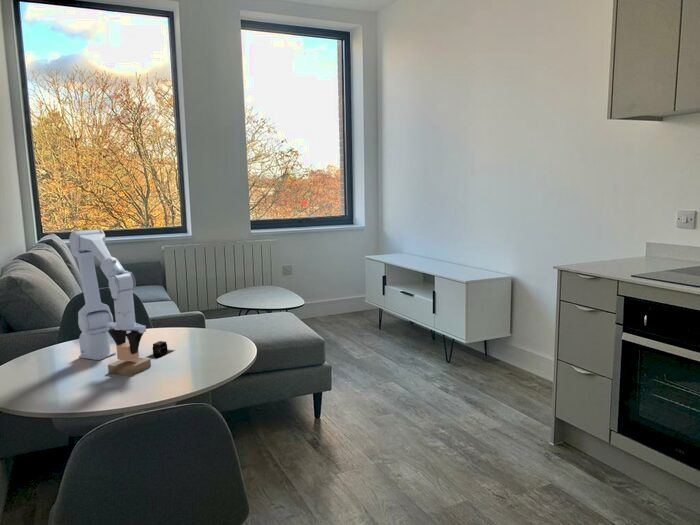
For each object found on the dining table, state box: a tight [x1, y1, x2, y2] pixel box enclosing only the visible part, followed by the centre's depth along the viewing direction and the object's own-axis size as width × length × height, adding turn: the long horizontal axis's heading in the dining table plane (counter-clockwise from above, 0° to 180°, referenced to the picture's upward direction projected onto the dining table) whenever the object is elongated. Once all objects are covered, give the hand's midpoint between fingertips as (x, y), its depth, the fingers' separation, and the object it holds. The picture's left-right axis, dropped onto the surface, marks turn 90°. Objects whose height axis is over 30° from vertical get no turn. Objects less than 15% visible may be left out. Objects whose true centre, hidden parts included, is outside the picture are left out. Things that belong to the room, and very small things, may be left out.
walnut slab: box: [107, 356, 152, 377], centre depth 174 cm, size 9×9×3 cm
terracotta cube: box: [116, 341, 140, 361], centre depth 173 cm, size 4×4×4 cm
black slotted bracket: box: [144, 340, 176, 360], centre depth 189 cm, size 12×7×5 cm, turn 160°
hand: (128, 352), depth 173 cm, fingers closed on terracotta cube, 5 cm apart
